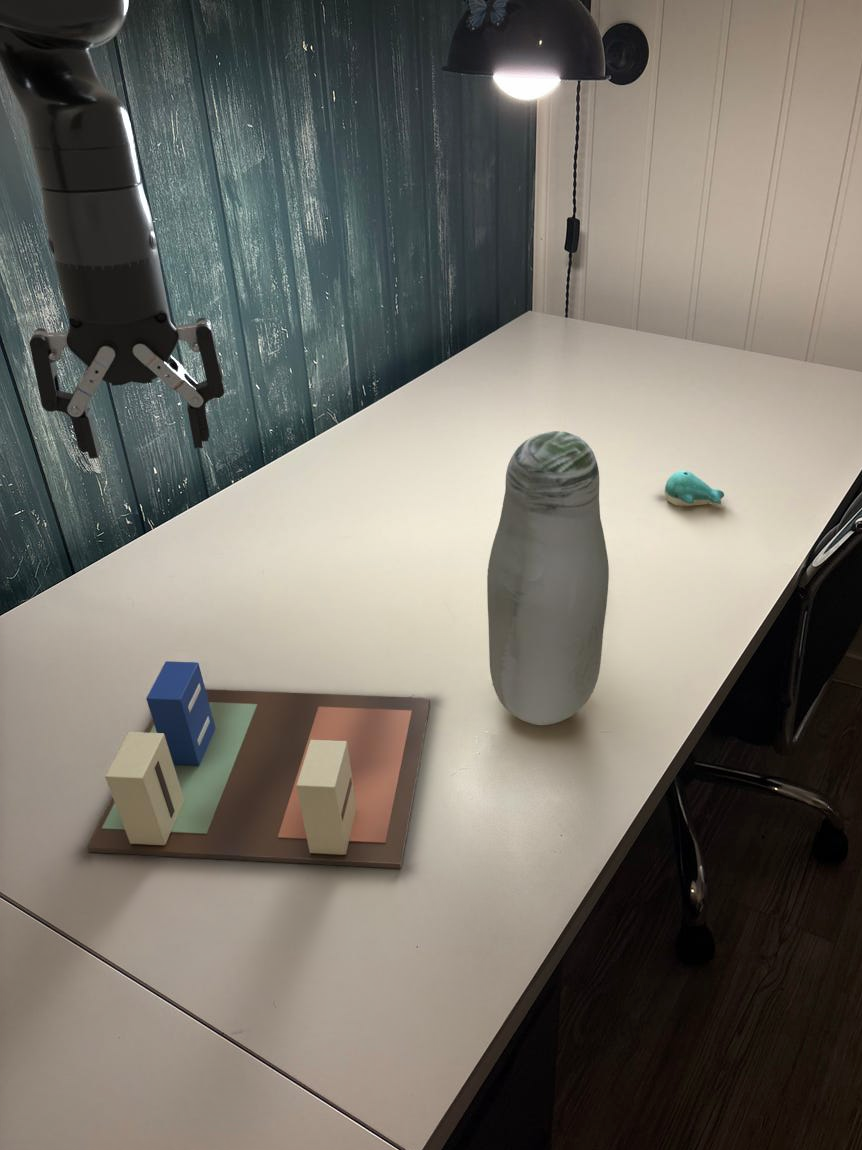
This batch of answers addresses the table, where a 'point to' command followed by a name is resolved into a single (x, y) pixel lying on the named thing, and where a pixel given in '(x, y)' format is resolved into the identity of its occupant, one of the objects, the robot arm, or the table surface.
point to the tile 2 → (327, 796)
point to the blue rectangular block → (182, 711)
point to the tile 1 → (145, 788)
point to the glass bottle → (548, 581)
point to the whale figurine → (690, 490)
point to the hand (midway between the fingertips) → (147, 450)
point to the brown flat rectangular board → (289, 779)
